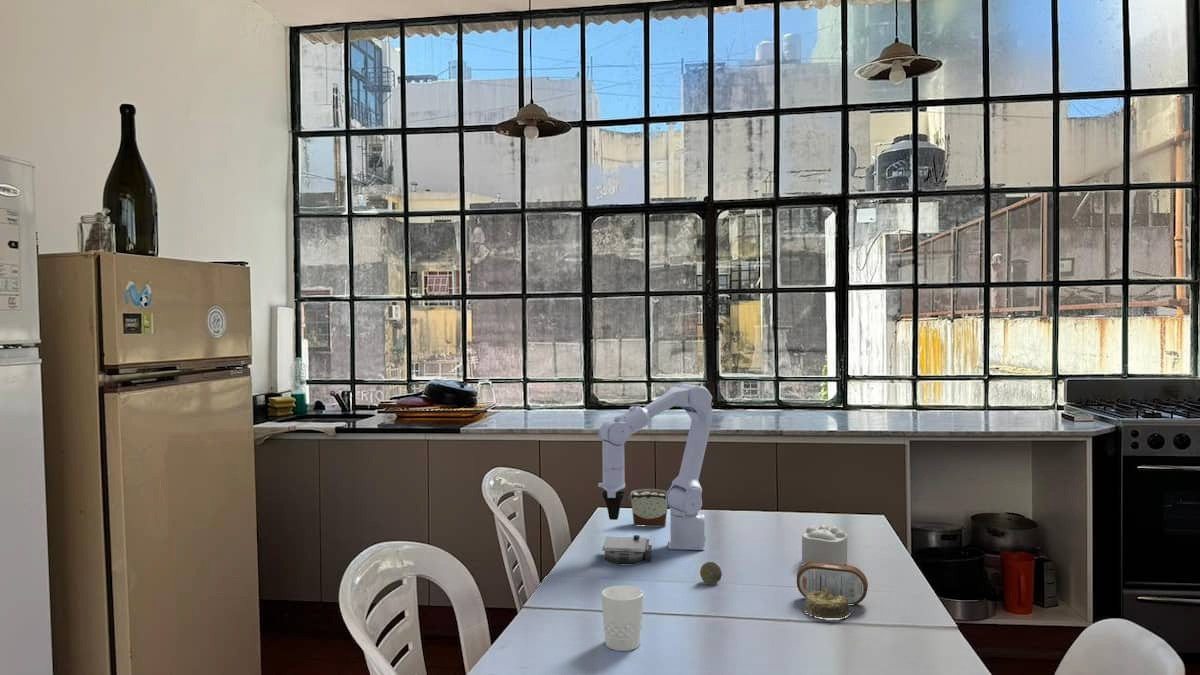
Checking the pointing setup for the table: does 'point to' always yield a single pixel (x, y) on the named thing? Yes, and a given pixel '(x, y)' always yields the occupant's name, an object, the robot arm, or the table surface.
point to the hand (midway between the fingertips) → (613, 519)
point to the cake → (826, 605)
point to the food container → (649, 507)
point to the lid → (626, 544)
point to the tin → (833, 580)
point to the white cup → (622, 617)
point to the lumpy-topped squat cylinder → (824, 545)
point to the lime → (710, 573)
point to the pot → (628, 556)
